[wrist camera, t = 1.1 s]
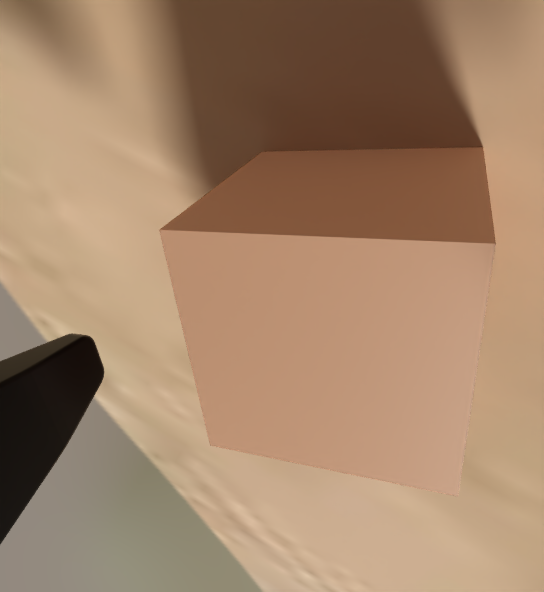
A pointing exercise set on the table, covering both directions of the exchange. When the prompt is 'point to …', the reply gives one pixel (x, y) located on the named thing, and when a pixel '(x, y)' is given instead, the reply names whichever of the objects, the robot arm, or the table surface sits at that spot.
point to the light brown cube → (340, 308)
